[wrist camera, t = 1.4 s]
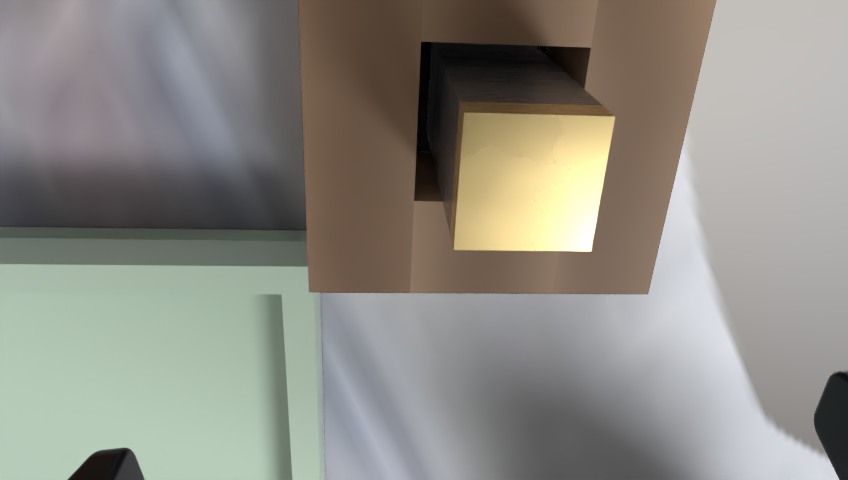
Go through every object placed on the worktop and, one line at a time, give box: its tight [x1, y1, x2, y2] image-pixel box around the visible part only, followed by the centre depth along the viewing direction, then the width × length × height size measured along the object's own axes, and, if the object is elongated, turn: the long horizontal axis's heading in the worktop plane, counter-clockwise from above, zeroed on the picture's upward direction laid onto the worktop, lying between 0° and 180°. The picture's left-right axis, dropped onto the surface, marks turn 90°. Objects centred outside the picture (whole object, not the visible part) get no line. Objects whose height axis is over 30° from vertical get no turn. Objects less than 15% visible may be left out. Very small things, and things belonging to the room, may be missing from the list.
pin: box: [427, 42, 615, 251], centre depth 17 cm, size 3×3×8 cm
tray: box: [0, 227, 326, 480], centre depth 24 cm, size 16×14×2 cm
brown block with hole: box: [298, 0, 716, 294], centre depth 19 cm, size 10×10×4 cm
